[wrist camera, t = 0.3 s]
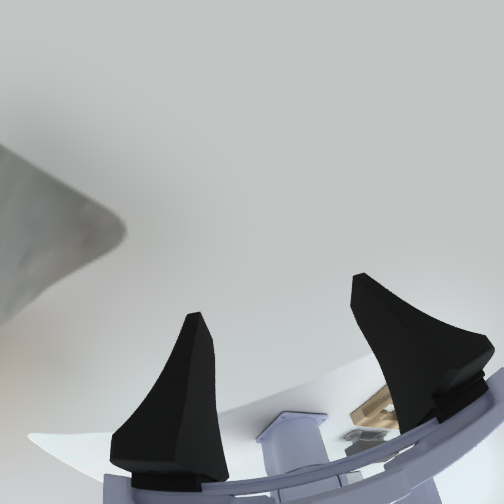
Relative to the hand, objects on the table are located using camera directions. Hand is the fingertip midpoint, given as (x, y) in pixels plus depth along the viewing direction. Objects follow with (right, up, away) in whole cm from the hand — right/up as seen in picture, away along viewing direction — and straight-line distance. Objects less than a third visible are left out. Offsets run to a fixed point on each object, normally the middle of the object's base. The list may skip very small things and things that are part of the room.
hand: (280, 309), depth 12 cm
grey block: (+21, -34, +29) cm, 49 cm away
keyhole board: (+26, -25, +25) cm, 44 cm away
